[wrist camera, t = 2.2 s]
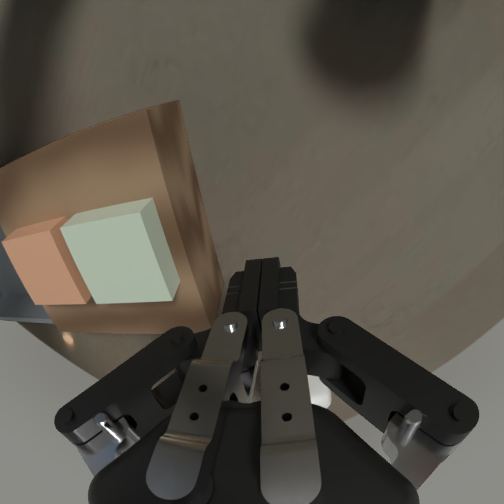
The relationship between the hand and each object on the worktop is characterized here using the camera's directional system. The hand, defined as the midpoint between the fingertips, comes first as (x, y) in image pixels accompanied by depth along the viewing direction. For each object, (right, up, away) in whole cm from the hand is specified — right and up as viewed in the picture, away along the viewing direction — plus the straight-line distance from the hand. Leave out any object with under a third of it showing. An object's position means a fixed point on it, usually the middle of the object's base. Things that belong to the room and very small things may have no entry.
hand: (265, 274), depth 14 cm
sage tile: (-9, +1, +5) cm, 10 cm away
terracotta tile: (-16, +1, +6) cm, 17 cm away
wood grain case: (-12, +4, +10) cm, 17 cm away
